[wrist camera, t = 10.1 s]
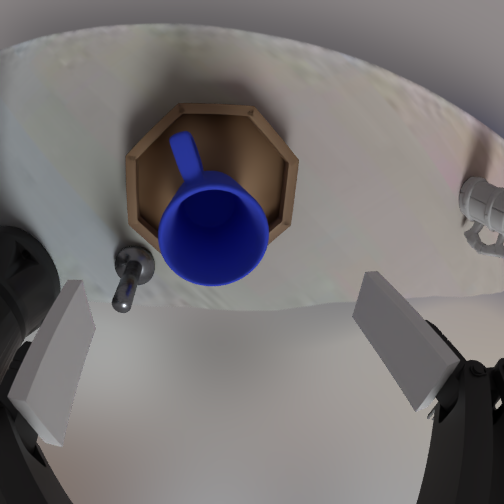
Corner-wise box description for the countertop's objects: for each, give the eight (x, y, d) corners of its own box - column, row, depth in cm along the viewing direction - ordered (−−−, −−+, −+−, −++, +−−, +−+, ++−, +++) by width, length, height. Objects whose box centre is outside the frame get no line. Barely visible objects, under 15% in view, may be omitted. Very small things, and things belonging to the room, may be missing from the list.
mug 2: (486, 179, 37) (536, 202, 27) (469, 240, 42) (513, 271, 32) (463, 170, 36) (520, 193, 25) (445, 237, 41) (494, 272, 30)
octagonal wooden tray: (138, 253, 33) (132, 267, 30) (134, 106, 26) (126, 105, 23) (277, 253, 36) (284, 266, 33) (293, 112, 29) (304, 112, 26)
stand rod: (119, 281, 34) (103, 323, 27) (114, 245, 32) (93, 282, 25) (156, 281, 35) (148, 325, 28) (153, 245, 33) (142, 283, 26)
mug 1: (224, 115, 26) (236, 114, 17) (257, 223, 32) (280, 267, 23) (146, 143, 26) (120, 156, 17) (186, 247, 32) (182, 299, 23)
